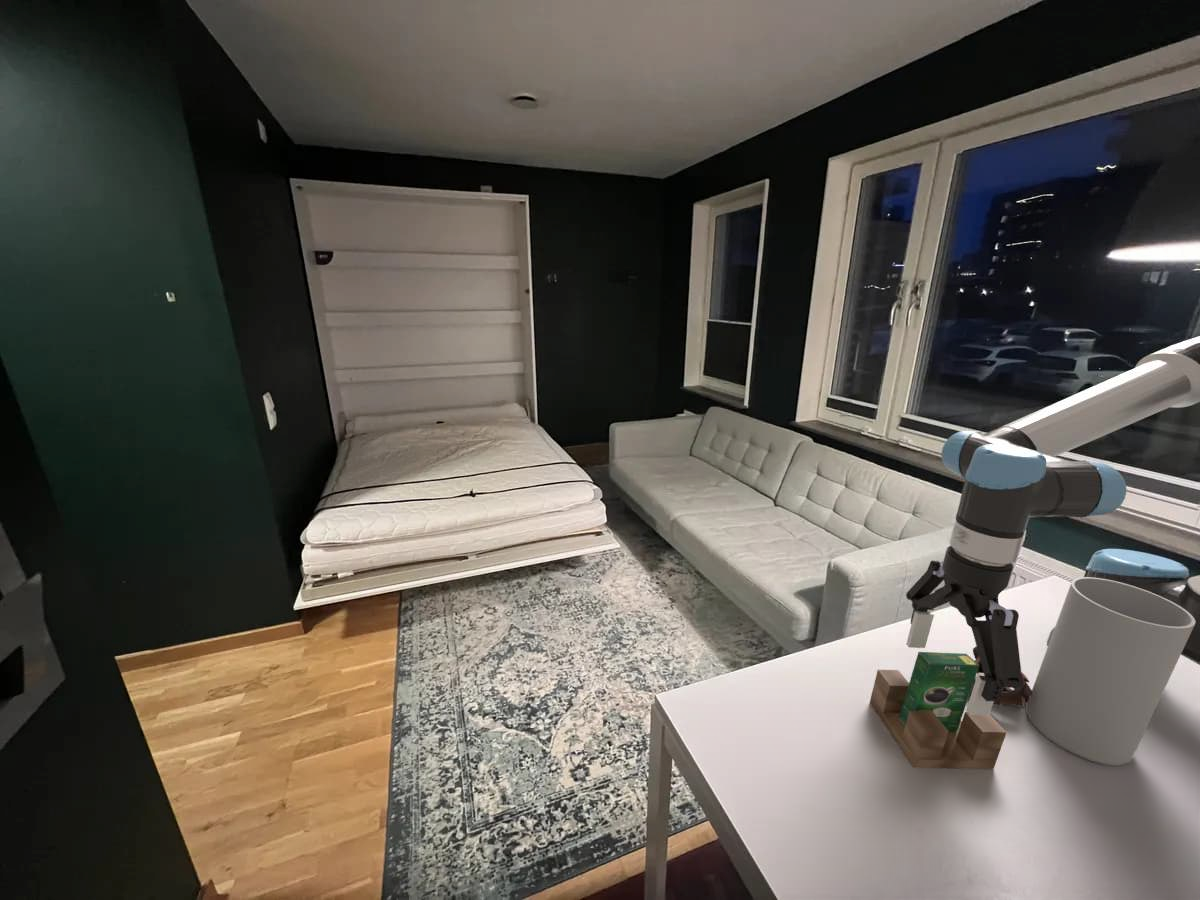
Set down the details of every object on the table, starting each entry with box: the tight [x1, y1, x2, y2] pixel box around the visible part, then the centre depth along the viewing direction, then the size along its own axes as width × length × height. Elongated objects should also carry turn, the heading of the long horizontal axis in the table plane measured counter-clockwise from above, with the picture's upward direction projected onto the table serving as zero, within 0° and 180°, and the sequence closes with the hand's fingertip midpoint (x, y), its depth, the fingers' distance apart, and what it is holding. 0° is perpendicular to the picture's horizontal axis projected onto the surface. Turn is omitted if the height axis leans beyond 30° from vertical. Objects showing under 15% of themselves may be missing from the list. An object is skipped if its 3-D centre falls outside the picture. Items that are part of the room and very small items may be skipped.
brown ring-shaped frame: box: [969, 646, 1032, 708], centre depth 85 cm, size 12×10×8 cm
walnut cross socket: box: [869, 669, 1007, 770], centre depth 75 cm, size 12×12×7 cm
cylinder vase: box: [1025, 576, 1195, 766], centre depth 74 cm, size 12×12×25 cm
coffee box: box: [899, 651, 979, 732], centre depth 74 cm, size 8×3×13 cm, turn 90°
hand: (943, 676), depth 73 cm, fingers open, 13 cm apart
